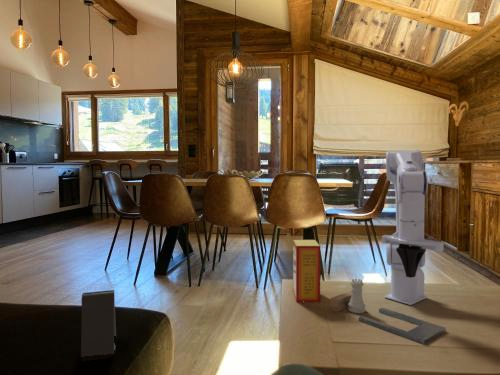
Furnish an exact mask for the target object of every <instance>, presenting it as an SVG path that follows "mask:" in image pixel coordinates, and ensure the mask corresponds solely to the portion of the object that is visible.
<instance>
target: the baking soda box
mask: <svg viewBox="0 0 500 375" xmlns="http://www.w3.org/2000/svg"><path fill="white" fill-rule="evenodd" d="M292 292H294V293H293V296H294V295H295V296H294V298H296V299H295V302H296V303H321V245H320V243H318V241H317V240H315V239H292ZM303 301H304V302H303Z"/></svg>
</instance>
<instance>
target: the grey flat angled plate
mask: <svg viewBox="0 0 500 375" xmlns="http://www.w3.org/2000/svg"><path fill="white" fill-rule="evenodd" d="M378 313H381V314H384V315H387V316H389V317H394V318H397V319H399V320H402V321H404V322H405V321H406V322H409V323H412V324H415V325H417V326H416V327H414V328H412V329H409V331H407V330H403V329H400V328H398V327H395V326H392V325H390V324H387V323H384V322H381V321H379V320H376V319H373V318H369V317H367V316H364V315H360V316H359V317H358V321H359V322H362V323H365V324H367V325H370V326H373V327H375V328H378V329H381V330H384V331H386V332H389V333H393V334H395V335H398V336H401V337H402V338H406V339H408V340H411V341H415V342H416V343H420V344H422V345H426V344H427V343H429V342H430V341H432V340H435V339H436V338H437V337H439V336H440V335H443V334H444V333H446V332H447V327H446V326H445V327H444V326H443V325H442V326H441V325H438V324H435V323H432V322H429V321H425V320H423V319H420V318H416V317H413V316H410V315H407V314H404V313H400V312H398V311H393V310H390V309H387V308H385V307H380V308H379V309H378Z"/></svg>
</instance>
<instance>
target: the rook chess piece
mask: <svg viewBox="0 0 500 375" xmlns="http://www.w3.org/2000/svg"><path fill="white" fill-rule="evenodd" d="M350 285H351V291H352V297H351V300H350V302H349V304H348V305H349V307H348V308H347V309H348V311H349V313H353V314H363V313H365V312H366V304H365V303H364V302H365V301H364V299H363V295H362V294H363V292H362V291H363V288H362V287H364V283H363V280H362V279H359V278H353V279H351V282H350Z"/></svg>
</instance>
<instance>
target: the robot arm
mask: <svg viewBox="0 0 500 375" xmlns="http://www.w3.org/2000/svg"><path fill="white" fill-rule="evenodd" d="M422 156H423V155H422V151H421V150H420V149H416V150H414V149H413V150H390V149H389V150H387V151H386V153H385V170H386V172H385V173H386V174H385V176H386V177H387V179H386V180H387V181H389V182H390V183H392V185H393V187H394V194H395V195H394V196H395V222H396V223H395V225H396V231H395V232H394V233H393V234H391V235H388V234H384V235H381V243H382V244H386V246H385V247H386V248H385V249H386V250H385V251H386V256H385V259H386V264H387V265H388V266H390V267H391V268H390V270H391V271H390V293H388V294H386V295H384V298H385V299H389V300H392V301H395V302H400V303H403V304H405V305H410V306H411V305H412V306H413V305H414V304H417V303H418V302H421V301H423V300H426V299H428V296H427V295H425V273H424V270H423V269H422V268H423V267H424V266H425V264H426V251H427V250H429V251H435V252H439V253H440V252H443V251H444V242H441V241H436V240H431V239H426V238H425V207H426V206H425V201H426V200H425V197H426V195H427V193H428V187H429V186H428V185H429V182H428V181H429V180H428V174H427V171H426V170H422V164H423V163H422V162H423V157H422Z"/></svg>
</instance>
